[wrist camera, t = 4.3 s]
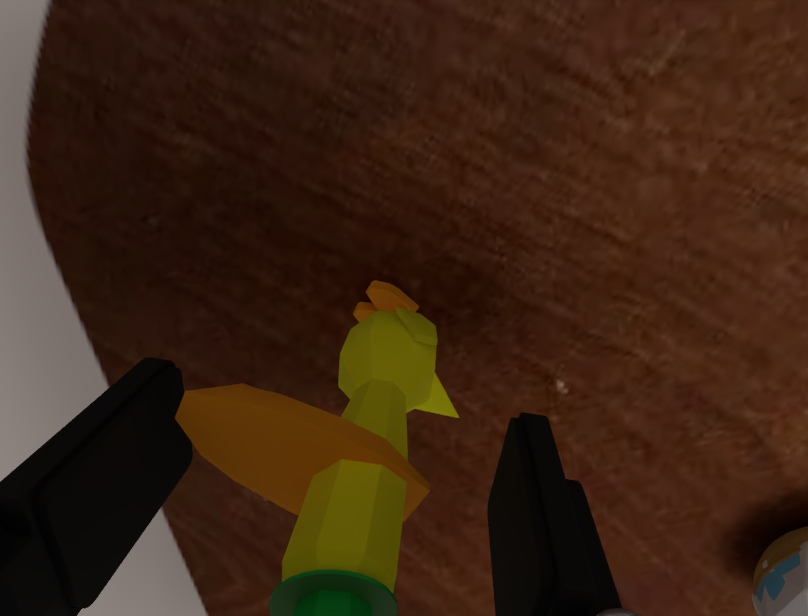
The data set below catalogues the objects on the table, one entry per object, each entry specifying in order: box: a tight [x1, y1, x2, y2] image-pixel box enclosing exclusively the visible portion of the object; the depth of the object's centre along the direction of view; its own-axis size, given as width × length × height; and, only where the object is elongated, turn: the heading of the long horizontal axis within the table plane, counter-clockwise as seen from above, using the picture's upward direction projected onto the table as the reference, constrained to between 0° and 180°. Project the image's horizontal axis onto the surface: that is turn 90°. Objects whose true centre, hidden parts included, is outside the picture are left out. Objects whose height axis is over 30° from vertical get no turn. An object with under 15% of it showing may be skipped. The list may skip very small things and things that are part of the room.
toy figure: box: [175, 280, 459, 616], centre depth 12 cm, size 7×4×12 cm, turn 61°
